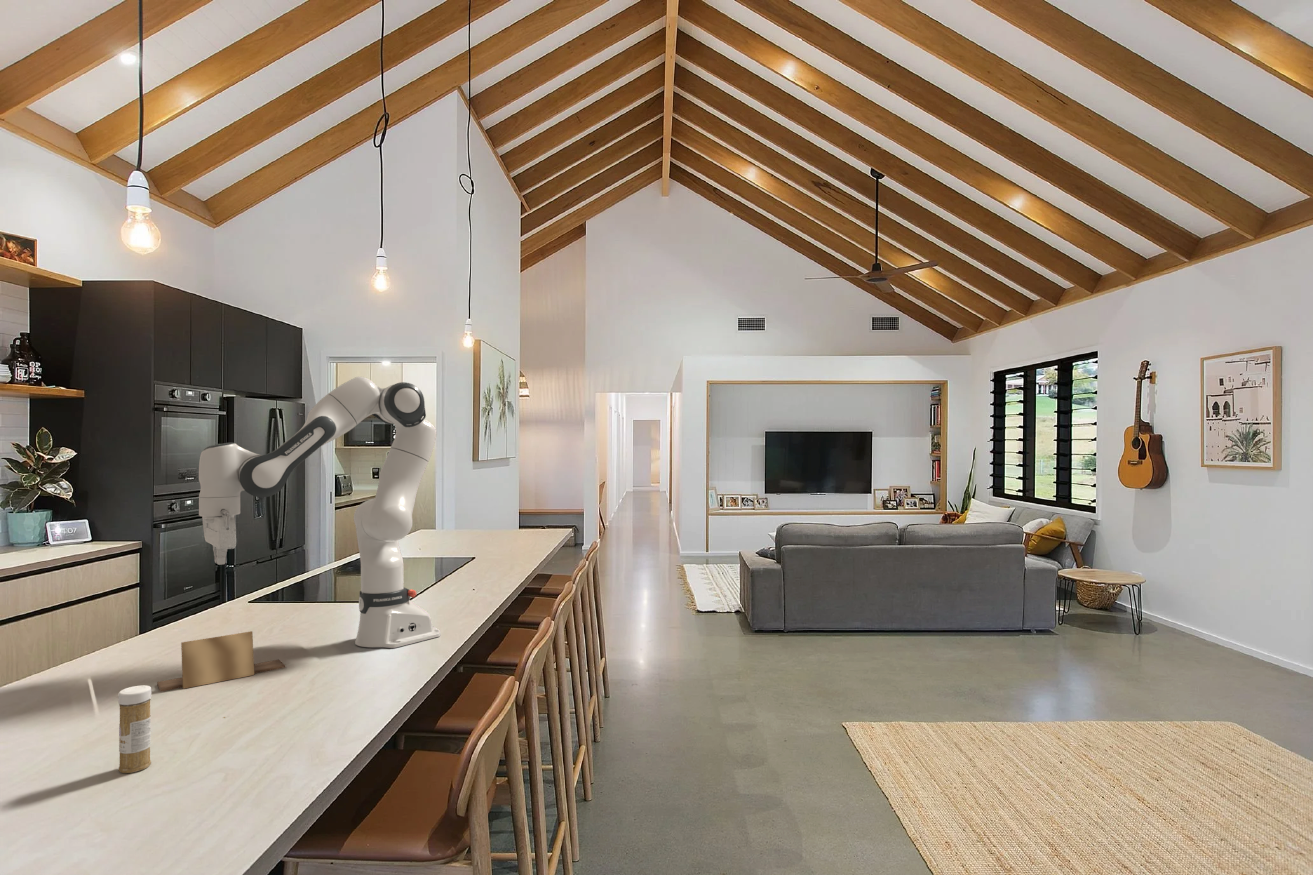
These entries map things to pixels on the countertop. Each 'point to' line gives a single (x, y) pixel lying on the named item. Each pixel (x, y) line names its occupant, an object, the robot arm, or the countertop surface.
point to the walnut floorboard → (257, 669)
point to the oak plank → (217, 659)
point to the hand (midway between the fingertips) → (220, 563)
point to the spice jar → (134, 728)
